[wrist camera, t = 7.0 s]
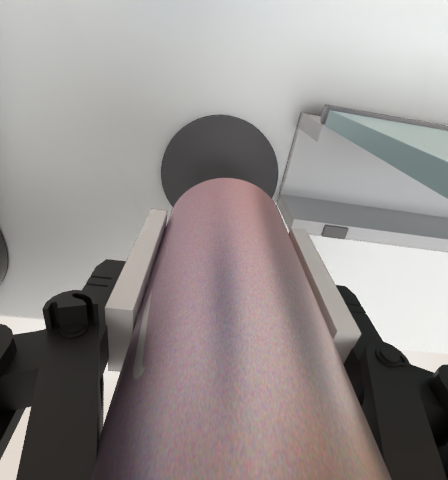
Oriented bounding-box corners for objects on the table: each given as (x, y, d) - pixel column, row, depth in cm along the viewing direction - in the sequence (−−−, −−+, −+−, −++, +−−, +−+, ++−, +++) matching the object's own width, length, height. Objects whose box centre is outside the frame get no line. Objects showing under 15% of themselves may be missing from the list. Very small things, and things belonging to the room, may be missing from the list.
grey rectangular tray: (276, 202, 25) (290, 233, 20) (300, 112, 21) (324, 125, 17) (493, 232, 27) (550, 267, 22) (548, 154, 23) (629, 176, 19)
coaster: (159, 220, 25) (158, 222, 25) (165, 105, 21) (164, 105, 20) (262, 233, 26) (263, 235, 26) (290, 126, 22) (291, 126, 21)
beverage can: (253, 281, 18) (339, 802, 5) (158, 253, 17) (-25, 831, 4) (298, 195, 16) (706, 849, 3) (188, 155, 14) (-73, 974, 1)
